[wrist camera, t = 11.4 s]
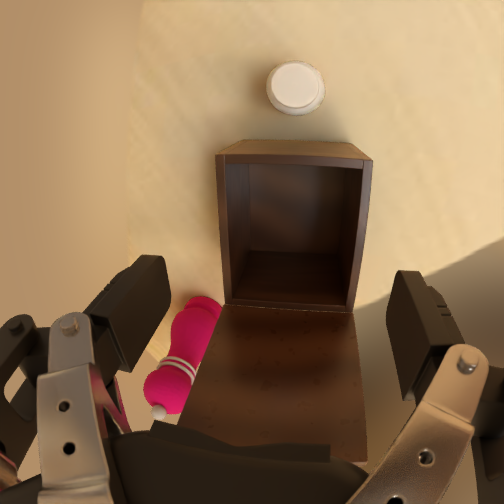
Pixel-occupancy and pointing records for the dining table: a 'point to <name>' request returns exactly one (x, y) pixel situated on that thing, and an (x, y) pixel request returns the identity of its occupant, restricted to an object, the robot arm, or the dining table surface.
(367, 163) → the chest
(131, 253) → the dining table surface
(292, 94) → the pill bottle
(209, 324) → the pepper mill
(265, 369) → the lid
